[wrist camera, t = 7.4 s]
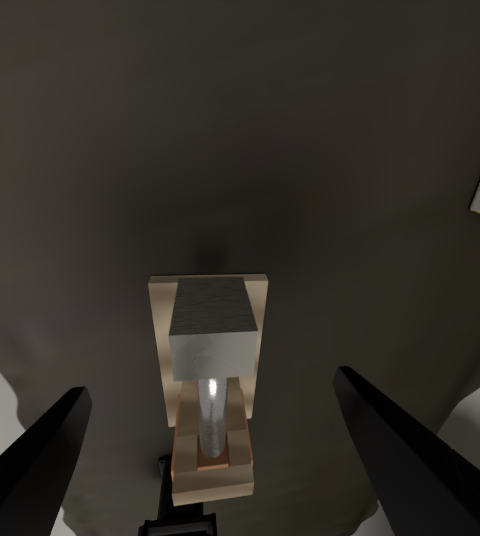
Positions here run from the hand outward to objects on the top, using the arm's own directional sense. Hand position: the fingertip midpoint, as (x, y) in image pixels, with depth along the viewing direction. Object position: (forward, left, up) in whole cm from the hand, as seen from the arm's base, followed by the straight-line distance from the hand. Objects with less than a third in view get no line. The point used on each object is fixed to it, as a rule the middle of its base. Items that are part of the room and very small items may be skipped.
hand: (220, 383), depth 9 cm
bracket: (-13, 0, -13) cm, 18 cm away
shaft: (-7, 0, -7) cm, 10 cm away
